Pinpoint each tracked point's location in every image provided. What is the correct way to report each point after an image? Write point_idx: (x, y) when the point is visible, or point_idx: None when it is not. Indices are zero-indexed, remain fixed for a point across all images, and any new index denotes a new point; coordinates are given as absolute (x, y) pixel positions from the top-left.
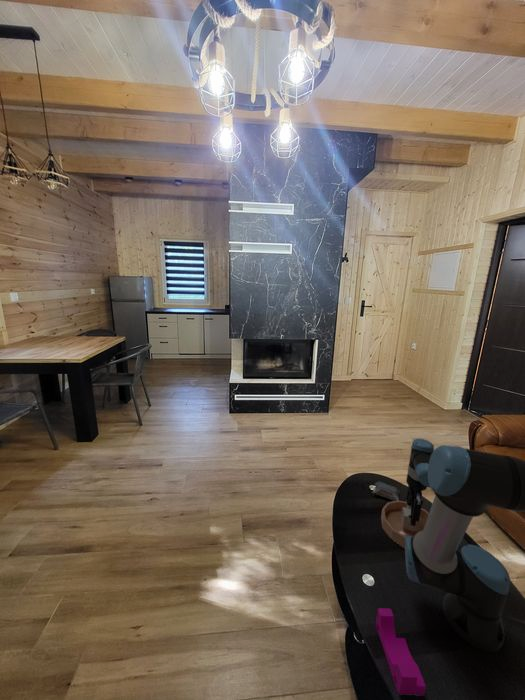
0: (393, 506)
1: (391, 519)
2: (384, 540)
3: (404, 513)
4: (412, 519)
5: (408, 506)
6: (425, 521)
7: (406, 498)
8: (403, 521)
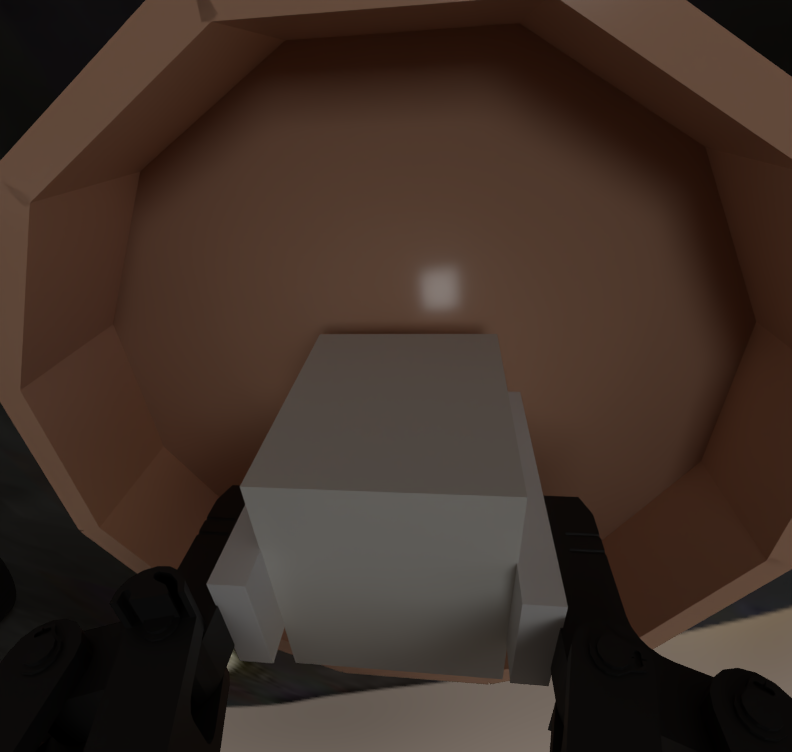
0: (777, 258)
1: (502, 186)
2: (70, 33)
3: (315, 493)
4: (8, 652)
5: (525, 622)
6: None
7: (760, 725)
8: (315, 385)
